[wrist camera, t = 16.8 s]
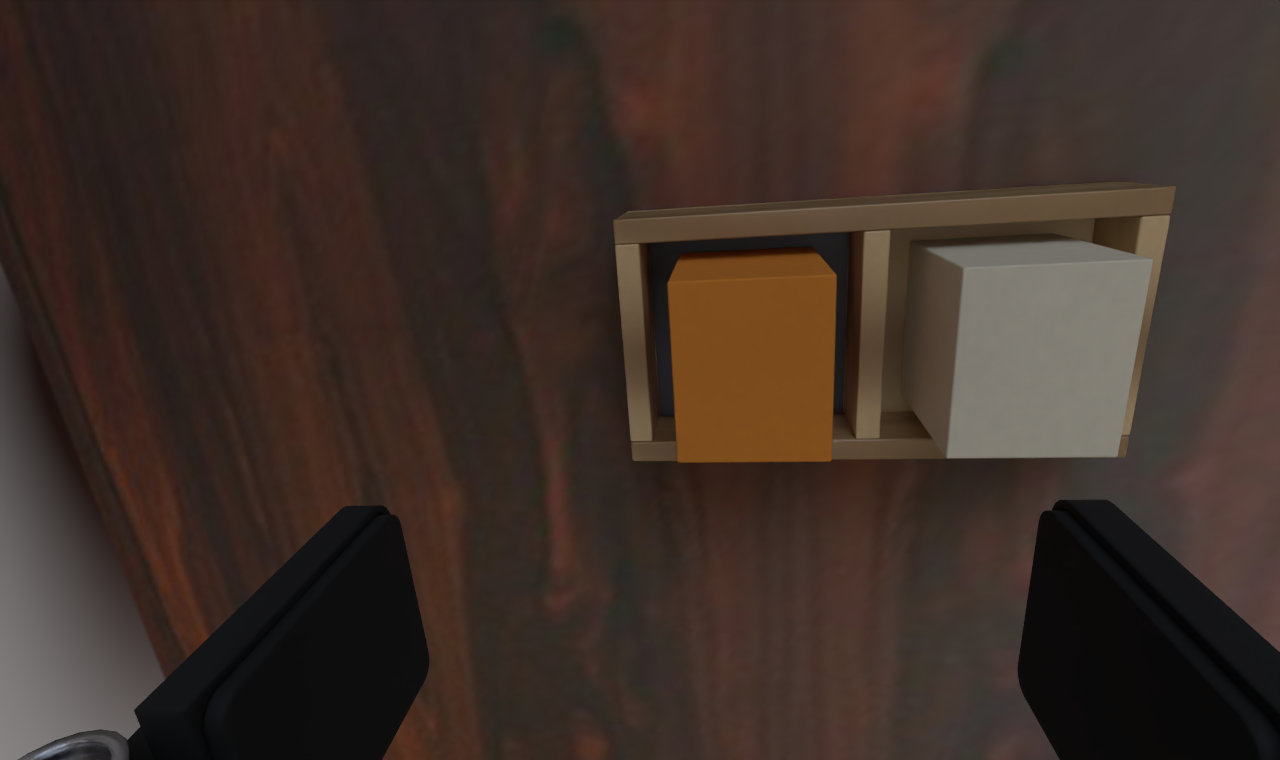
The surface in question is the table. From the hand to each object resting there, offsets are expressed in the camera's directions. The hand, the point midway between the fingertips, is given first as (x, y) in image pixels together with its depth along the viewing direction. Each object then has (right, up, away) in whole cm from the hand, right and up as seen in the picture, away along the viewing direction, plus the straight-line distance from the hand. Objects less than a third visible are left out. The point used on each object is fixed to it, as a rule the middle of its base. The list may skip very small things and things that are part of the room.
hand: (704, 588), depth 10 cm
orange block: (+3, +5, +14) cm, 15 cm away
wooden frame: (+7, +5, +15) cm, 17 cm away
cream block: (+11, +5, +13) cm, 18 cm away
